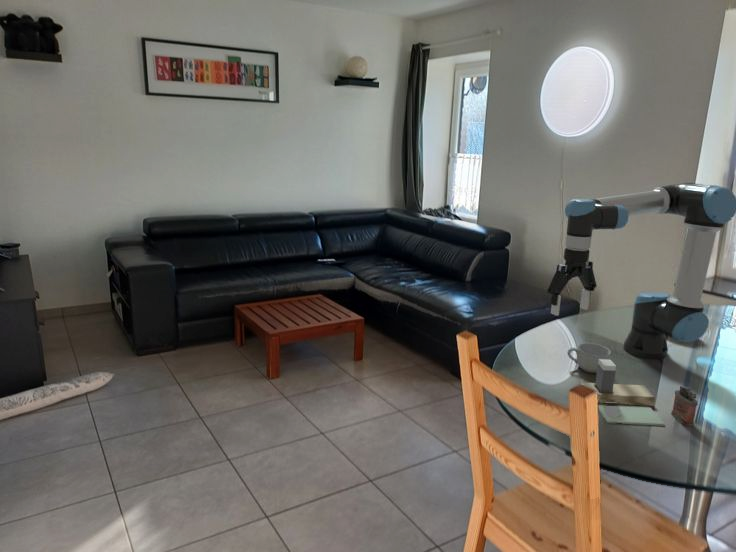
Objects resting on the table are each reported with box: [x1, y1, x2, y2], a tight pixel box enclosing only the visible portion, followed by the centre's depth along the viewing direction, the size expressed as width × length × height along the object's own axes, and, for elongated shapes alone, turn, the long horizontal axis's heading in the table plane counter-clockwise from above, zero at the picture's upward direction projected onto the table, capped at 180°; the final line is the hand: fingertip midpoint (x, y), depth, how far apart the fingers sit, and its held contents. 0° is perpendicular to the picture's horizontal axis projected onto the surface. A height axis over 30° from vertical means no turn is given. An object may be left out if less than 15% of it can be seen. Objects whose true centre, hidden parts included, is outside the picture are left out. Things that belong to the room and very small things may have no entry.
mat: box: [598, 404, 666, 427], centre depth 162 cm, size 16×10×1 cm, turn 86°
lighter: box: [670, 385, 699, 428], centre depth 159 cm, size 8×3×10 cm, turn 5°
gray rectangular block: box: [594, 359, 617, 393], centre depth 172 cm, size 4×5×12 cm
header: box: [579, 382, 656, 407], centre depth 173 cm, size 20×8×3 cm, turn 86°
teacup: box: [567, 342, 611, 374], centre depth 193 cm, size 14×11×8 cm
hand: (569, 311), depth 180 cm, fingers open, 13 cm apart
